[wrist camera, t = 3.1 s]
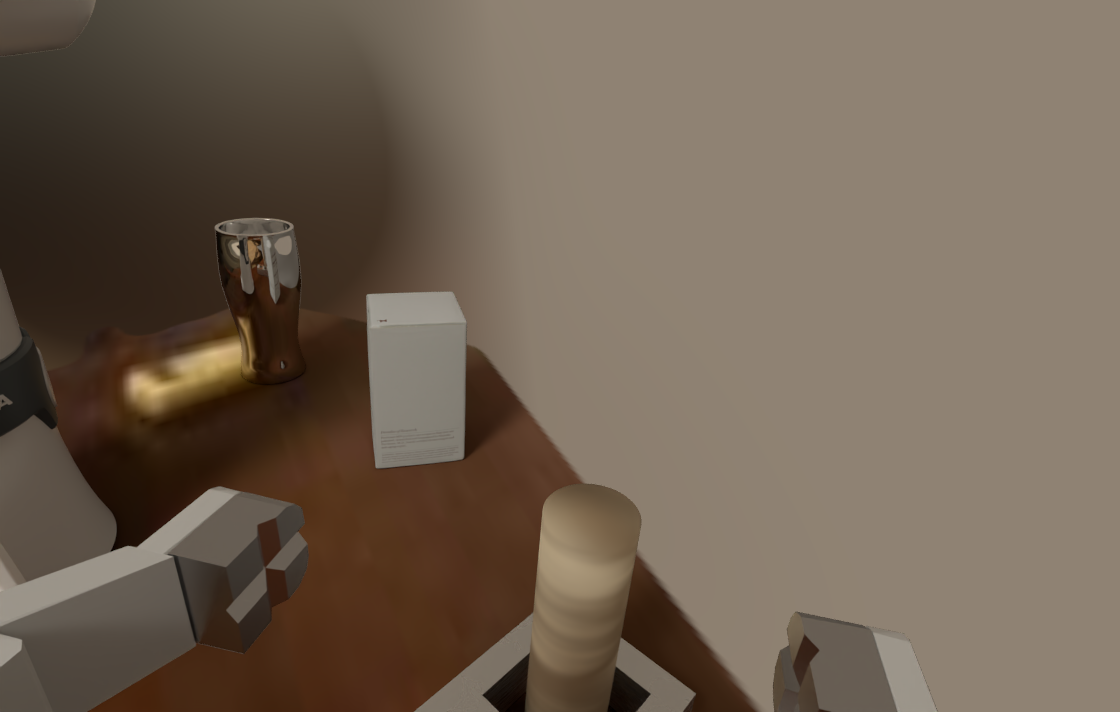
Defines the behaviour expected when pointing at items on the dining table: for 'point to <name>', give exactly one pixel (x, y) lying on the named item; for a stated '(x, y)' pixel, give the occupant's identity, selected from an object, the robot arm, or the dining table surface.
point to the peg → (580, 597)
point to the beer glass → (263, 295)
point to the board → (501, 677)
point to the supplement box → (417, 377)
